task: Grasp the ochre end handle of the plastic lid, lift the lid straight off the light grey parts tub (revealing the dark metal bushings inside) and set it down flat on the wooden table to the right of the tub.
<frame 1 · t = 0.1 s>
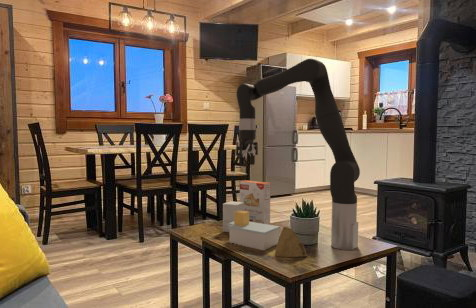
hand: (247, 165, 169), 29 cm above the table, fingers open, 8 cm apart
lid: (254, 228, 148), point 6 cm above the table, touching tub
cracker box: (254, 226, 178), on the table
rock: (291, 256, 133), on the table
tub: (254, 243, 148), on the table
supplement box: (233, 231, 167), on the table
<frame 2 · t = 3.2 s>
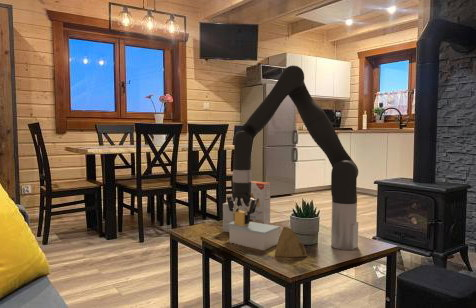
hand: (241, 222, 151), 7 cm above the table, fingers closed on lid, 4 cm apart
lid: (254, 228, 148), point 6 cm above the table, touching gripper, tub
everything else where it was.
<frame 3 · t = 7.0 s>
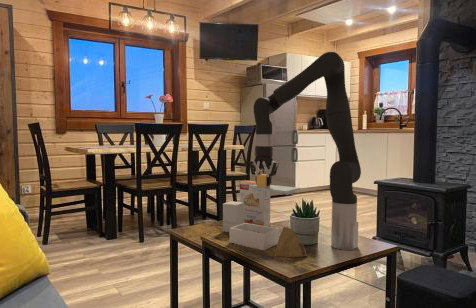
hand: (263, 185, 160), 21 cm above the table, fingers closed on lid, 4 cm apart
lid: (275, 189, 156), point 20 cm above the table, touching gripper
everything else where it was.
when the fingers open (3 cm above the table, at t = 10.5 s): lid stays where it is, point 1 cm above the table.
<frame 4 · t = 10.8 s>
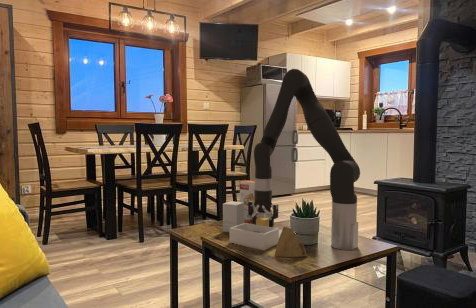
hand: (262, 226, 161), 3 cm above the table, fingers open, 7 cm apart
lid: (274, 234, 157), point 1 cm above the table
everything else where it was.
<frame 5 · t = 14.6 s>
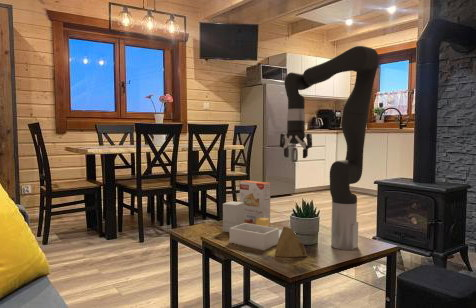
hand: (295, 157, 162), 33 cm above the table, fingers open, 8 cm apart
nothing on the table moved.
at the end: lid inside the target area (2.2 cm from its centre), point 1.1 cm above the table; lid tilted 0°; the gripper is holding nothing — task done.
